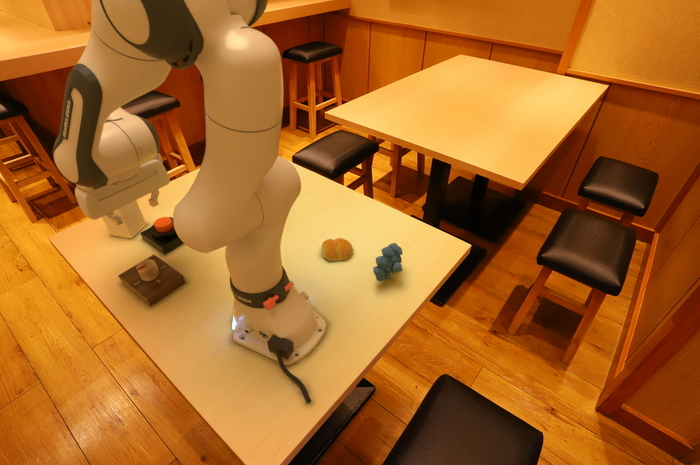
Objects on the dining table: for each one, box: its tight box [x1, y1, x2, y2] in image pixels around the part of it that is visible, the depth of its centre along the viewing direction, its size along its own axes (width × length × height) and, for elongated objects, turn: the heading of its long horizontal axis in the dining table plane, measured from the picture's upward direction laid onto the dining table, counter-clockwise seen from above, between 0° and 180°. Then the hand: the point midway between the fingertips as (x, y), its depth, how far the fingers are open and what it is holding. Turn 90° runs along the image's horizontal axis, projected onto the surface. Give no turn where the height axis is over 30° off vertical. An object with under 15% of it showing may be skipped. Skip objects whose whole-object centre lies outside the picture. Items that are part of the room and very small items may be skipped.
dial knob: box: [136, 259, 160, 281], centre depth 95 cm, size 4×4×4 cm
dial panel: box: [117, 254, 186, 308], centre depth 97 cm, size 13×10×3 cm
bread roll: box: [320, 237, 353, 262], centre depth 107 cm, size 8×9×4 cm
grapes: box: [372, 242, 403, 282], centre depth 96 cm, size 12×7×12 cm, turn 141°
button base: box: [140, 216, 184, 255], centre depth 110 cm, size 11×10×4 cm
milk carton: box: [101, 200, 147, 239], centre depth 108 cm, size 7×7×19 cm
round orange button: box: [153, 216, 174, 233], centre depth 109 cm, size 5×5×2 cm
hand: (137, 214), depth 93 cm, fingers open, 8 cm apart
